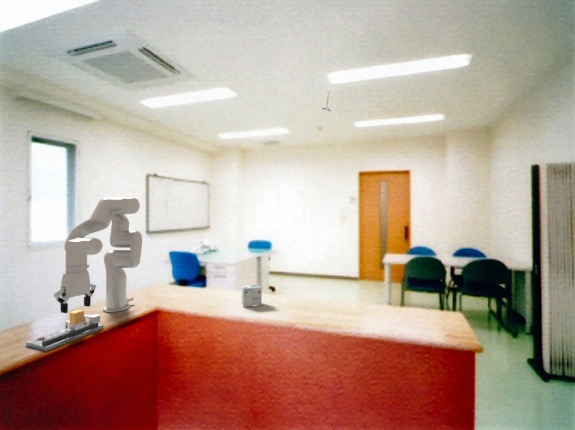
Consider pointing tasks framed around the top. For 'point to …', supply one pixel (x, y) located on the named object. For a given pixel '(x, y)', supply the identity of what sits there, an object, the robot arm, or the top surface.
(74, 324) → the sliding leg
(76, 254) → the robot arm
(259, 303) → the light bulb box
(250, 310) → the top surface
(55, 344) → the base
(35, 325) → the top surface
